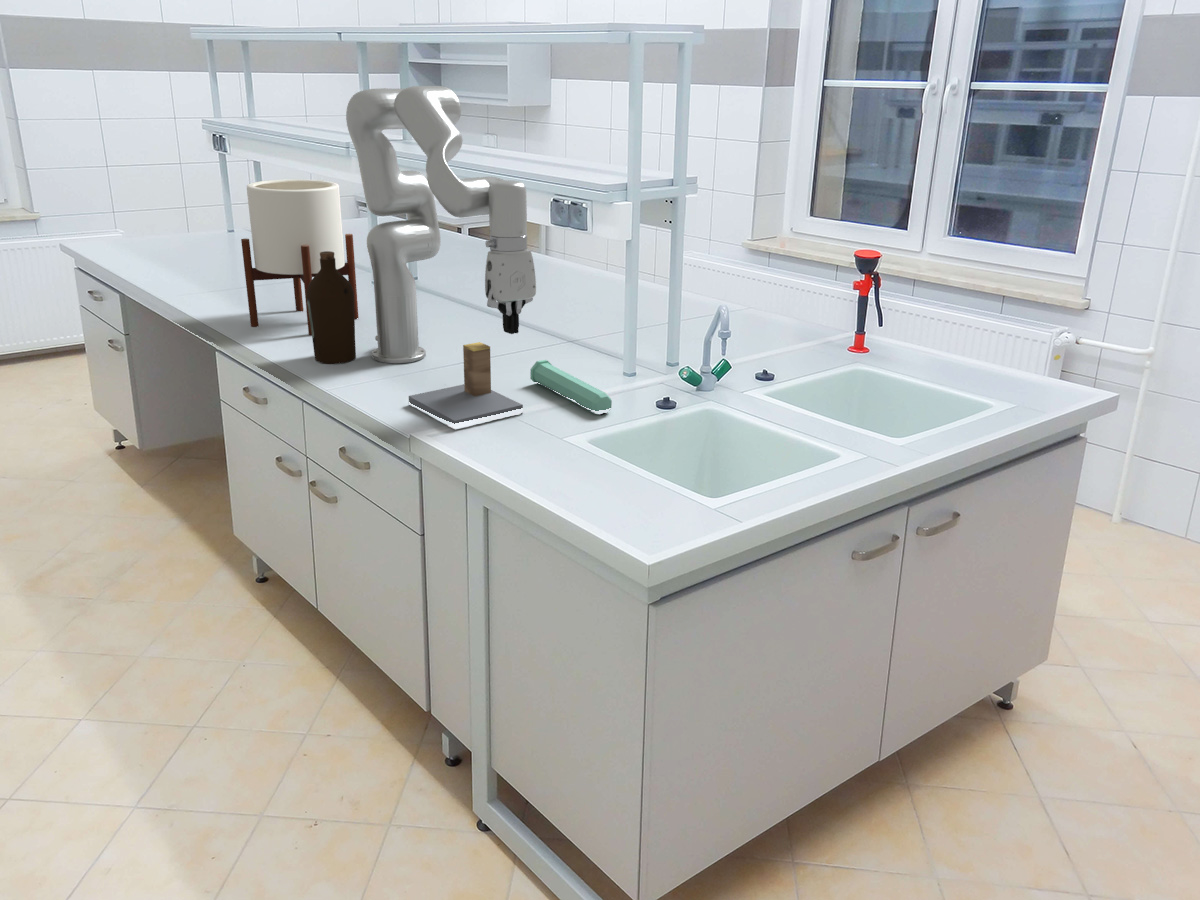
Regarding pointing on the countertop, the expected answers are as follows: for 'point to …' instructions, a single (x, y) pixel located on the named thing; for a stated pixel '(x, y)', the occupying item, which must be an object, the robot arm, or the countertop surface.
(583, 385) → the container
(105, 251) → the countertop surface
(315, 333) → the olive oil
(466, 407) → the board
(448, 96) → the robot arm
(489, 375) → the block
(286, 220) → the plant pot with stand
